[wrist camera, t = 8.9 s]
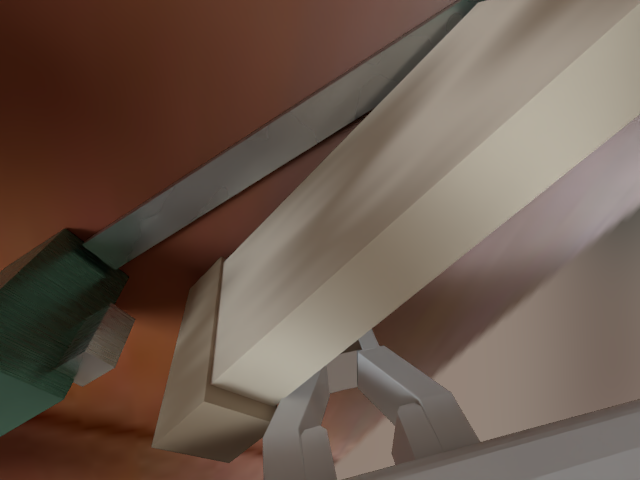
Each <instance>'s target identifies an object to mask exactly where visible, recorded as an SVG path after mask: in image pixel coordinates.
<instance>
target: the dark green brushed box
mask: <svg viewBox="0 0 640 480" xmlns="http://www.w3.org/2000/svg"><path fill="white" fill-rule="evenodd" d="M83 243H84V242H83V241H81V240H80V239H79V238H78V237H76V236H75V235H74V234H72V233H71V232H70V231H68V230H67V229H66V228H65V229H63V230H62V231H60V232H59V233H57V234H56V235H54V236H53V237H51V238H50V239H48V240H46V241H45V242H43V243H42V244H40V245H39V246H37V247H36V248H34V249H33V250H31V251H30V252H28V253H27V254H25V255H24V256H22V257H21V258H19V259H17V260H16V261H14V262H13V263H11V264H10V265H8V266H7V267H5V268H4V269H3V270H2V271H1V272H0V437H1V436H2V435H4V434H6V433H7V432H9V431H11V430H12V429H14V428H16V427H18V426H19V425H21V424H23V423H24V422H26V421H28V420H29V419H31V418H33V417H35V416H36V415H38V414H40V413H41V412H43V411H45V410H46V409H48V408H50V407H52V406H53V405H55V404H57V403H58V402H60V401H62V400H63V399H64V398H65V396H66V394H67V392H68V390H69V389H70V387H71V385H72V383H73V382H74V383H76V384H78V385H80V386H82V387H83V386H84V385H86V384H88V383H90V382H91V381H93V380H95V379H96V378H98V377H100V376H101V375H103V374H105V373H106V372H108V371H110V370H112V369H113V368H115V366H116V364H117V361H118V359H119V357H120V354H121V352H122V350H123V347H124V345H125V342H126V340H127V338H128V335H129V333H130V331H131V328H132V326H133V324H134V321H135V319H134V318H133V317H131V316H130V315H128V314H127V313H125V312H124V311H122V310H121V309H120V308H118V307H117V306H115V305H114V304H115V302H116V301H117V299H118V297H119V295H120V293H121V291H122V289H123V288H124V286H125V284H126V282H127V280H128V278H129V277H128V276H127V275H126V274H124V273H123V272H122V271H121V270H119V269H116V270H114V269H113V268H112V267H110V266H109V265H108V264H106V263H105V262H104V261H102V260H101V259H100V258H99V257H97V256H96V255H95V254H93V253H92V252H91V251H89V250H88V249H87V248H85V247H84V246H83Z"/></svg>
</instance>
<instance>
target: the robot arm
mask: <svg viewBox="0 0 640 480" xmlns="http://www.w3.org/2000/svg"><path fill="white" fill-rule="evenodd" d="M355 387H358V389H359V390H360V391H361V392H362V393H363V394H364V395H365V396H366V397H367V398H368V399H369V400H370V401H371V402H372V403H373V404H374V405H375V406H376V407H377V408H378V409H379V410H380V411H381V412H382V413H383V414H384V415H385V416H386V417H387V418H388V419H389V420H390V421H391V422H392V423H393V424H394V425H395V433H394V440H393V448H392V456H393V459H394V462H395V465H394V466H390V467H387V468H383V469H380V470H376V471H372V472H368V473H365V474H361V475H358V476H354V477H350V478H346V479H343V480H640V399H638V400H634V401H631V402H627V403H623V404H619V405H616V406H612V407H608V408H605V409H601V410H597V411H594V412H590V413H587V414H583V415H579V416H575V417H571V418H568V419H564V420H560V421H557V422H553V423H549V424H546V425H542V426H538V427H535V428H531V429H527V430H523V431H520V432H516V433H512V434H509V435H505V436H501V437H498V438H494V439H490V440H486V441H483V442H480V441H479V439H478V437H477V436H476V434H475V432H474V431H473V429H472V427H471V426H470V424H469V422H468V420H467V419H466V417H465V415H464V414H463V412H462V410H461V409H460V407H459V405H458V403H457V402H456V400H455V398H454V396H453V395H452V393H451V392H450V391H448V390H447V389H445V388H444V387H443V386H441V385H440V384H438V383H437V382H436V381H434V380H433V379H431V378H430V377H428V376H427V375H426V374H424V373H423V372H421V371H420V370H418V369H417V368H416V367H414V366H413V365H411V364H410V363H408V362H407V361H406V360H404V359H403V358H401V357H400V356H398V355H397V354H396V353H394V352H393V351H391V350H390V349H388V348H387V347H386V346H384V345H383V346H379V344H378V341H377V339H376V337H375V335H374V332H373V330H372V329H371V330H369V331H368V332H367V333H366V334H364V335H363V336H362V337H361V338H359V339H358V340H357V341H356V342H354V343H353V344H352V345H351V346H349V347H348V348H347V349H346V350H344V351H343V352H342V353H341V354H339V355H338V356H337V357H336V358H334V359H333V360H332V361H331V362H329V363H328V364H327V365H326V366H324V367H323V368H322V369H321V370H319V371H318V372H317V373H316V374H314V375H313V376H312V377H311V378H309V379H308V380H307V381H306V382H304V383H303V384H302V385H301V386H299V387H298V388H297V389H296V390H294V391H293V392H292V393H291V394H289V395H288V396H287V397H285V398H282V399H281V401H280V403H279V405H278V407H277V409H276V411H275V413H274V415H273V417H272V420H271V422H270V424H269V426H268V428H267V430H266V432H265V434H264V436H263V472H264V480H337V477H336V472H335V467H334V463H333V458H332V453H331V448H330V443H329V439H328V434H327V429H325V428H323V427H322V426H321V423H322V419H323V416H324V413H325V409H326V406H327V403H328V399H329V396H330V394H329V393H333V392H337V391H341V390H345V389H350V388H355Z"/></svg>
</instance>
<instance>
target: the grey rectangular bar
mask: <svg viewBox="0 0 640 480" xmlns="http://www.w3.org/2000/svg"><path fill="white" fill-rule="evenodd" d="M638 115H640V0H486V1H482V2H478V3H477V4H476V5H475V6H474V7H473V8H472V9H471V10H470V12H469V13H468V14H467V15H466V16H465V17H464V18H463V19H462V20H461V21H460V22H459V23H458V24H457V25H456V26H455V27H454V28H453V29H452V30H451V31H450V32H449V33H448V34H447V35H446V36H445V37H444V38H443V39H442V40H441V41H440V42H439V43H438V44H437V45H436V46H435V47H434V48H433V49H432V50H431V51H430V52H429V53H428V54H427V55H426V56H425V57H424V58H423V59H422V61H421V62H420V63H419V64H418V65H417V66H416V67H415V68H414V69H413V70H412V71H411V72H410V73H409V74H408V75H407V76H406V77H405V78H404V79H403V80H402V81H401V82H400V83H399V84H398V85H397V86H396V87H395V88H394V89H393V90H392V91H391V92H390V93H389V94H388V95H387V96H386V97H385V98H384V99H383V100H382V101H381V102H380V103H379V104H378V105H377V106H376V107H375V108H374V109H373V111H372V112H371V113H370V114H369V115H368V116H367V117H366V118H365V119H364V120H363V121H362V122H361V123H360V124H359V125H358V126H357V127H356V128H355V129H354V130H353V131H352V132H351V133H350V134H349V135H348V136H347V137H346V138H345V139H344V140H343V141H342V142H341V143H340V144H339V145H338V146H337V147H336V148H335V149H334V150H333V151H332V152H331V153H330V154H329V155H328V156H327V157H326V158H325V159H324V161H323V162H322V163H321V164H320V165H319V166H318V167H317V168H316V169H315V170H314V171H313V172H312V173H311V174H310V175H309V176H308V177H307V178H306V179H305V180H304V181H303V182H302V183H301V184H300V185H299V186H298V187H297V188H296V189H295V190H294V191H293V192H292V193H291V194H290V195H289V196H288V197H287V198H286V199H285V200H284V201H283V202H282V203H281V204H280V205H279V206H278V207H277V208H276V209H275V211H274V212H273V213H272V214H271V215H270V216H269V217H268V218H267V219H266V220H265V221H264V222H263V223H262V224H261V225H260V226H259V227H258V228H257V229H256V230H255V231H254V232H253V233H252V234H251V235H250V236H249V237H248V238H247V239H246V240H245V241H244V242H243V243H242V244H241V245H240V246H239V247H238V248H237V249H236V250H235V251H234V252H233V253H232V254H231V255H230V256H229V257H228V258H227V259H225V258H223V257H222V256H221V257H220V258H219V259H218V260H217V261H216V262H215V263H214V264H213V266H212V267H211V268H210V269H209V270H208V271H207V272H206V273H205V274H204V275H203V276H202V277H201V278H200V279H199V280H198V281H197V282H196V283H195V284H194V285H193V286H192V287H191V288H190V290H189V294H188V298H187V302H186V306H185V310H184V314H183V319H182V323H181V327H180V331H179V335H178V339H177V343H176V347H175V352H174V356H173V360H172V364H171V368H170V372H169V376H168V381H167V385H166V389H165V393H164V397H163V401H162V405H161V409H160V414H159V418H158V422H157V426H156V430H155V434H154V438H153V443H152V448H157V449H162V450H167V451H172V452H177V453H182V454H187V455H192V456H196V457H201V458H206V459H211V460H216V461H221V462H226V463H230V462H231V461H232V460H234V459H235V458H236V457H238V456H239V455H240V454H241V453H243V452H244V451H245V450H247V449H248V448H249V447H250V446H252V445H253V444H254V443H256V442H257V441H258V440H259V439H261V438H262V437H263V436H264V434H265V432H266V430H267V428H268V426H269V424H270V422H271V420H272V417H273V415H274V413H275V411H276V409H277V404H278V403H279V402H280V401H281V399H282V398H285V397H287V396H288V395H289V394H291V393H292V392H293V391H294V390H296V389H297V388H298V387H299V386H301V385H302V384H303V383H304V382H306V381H307V380H308V379H309V378H311V377H312V376H313V375H314V374H316V373H317V372H318V371H319V370H321V369H322V368H323V367H324V366H326V365H327V364H328V363H329V362H331V361H332V360H333V359H334V358H336V357H337V356H338V355H339V354H341V353H342V352H343V351H344V350H346V349H347V348H348V347H349V346H351V345H352V344H353V343H354V342H356V341H357V340H358V339H359V338H361V337H362V336H363V335H364V334H366V333H367V332H368V331H369V330H371V329H372V328H373V327H374V326H376V325H377V324H378V323H379V322H381V321H382V320H383V319H384V318H386V317H387V316H388V315H389V314H391V313H392V312H393V311H394V310H396V309H397V308H398V307H399V306H401V305H402V304H403V303H404V302H406V301H407V300H408V299H409V298H411V297H412V296H413V295H414V294H416V293H417V292H418V291H419V290H421V289H422V288H423V287H424V286H426V285H427V284H428V283H429V282H431V281H432V280H433V279H434V278H436V277H437V276H438V275H439V274H441V273H442V272H443V271H444V270H446V269H447V268H448V267H449V266H451V265H452V264H453V263H454V262H456V261H457V260H458V259H459V258H461V257H462V256H463V255H464V254H466V253H467V252H468V251H469V250H471V249H472V248H473V247H474V246H476V245H477V244H478V243H479V242H481V241H482V240H483V239H484V238H486V237H487V236H488V235H489V234H491V233H492V232H493V231H494V230H496V229H497V228H498V227H499V226H501V225H502V224H503V223H504V222H506V221H507V220H508V219H509V218H511V217H512V216H513V215H515V214H516V213H517V212H518V211H520V210H521V209H522V208H523V207H525V206H526V205H527V204H528V203H530V202H531V201H532V200H533V199H535V198H536V197H537V196H538V195H540V194H541V193H542V192H543V191H545V190H546V189H547V188H548V187H550V186H551V185H552V184H553V183H555V182H556V181H557V180H558V179H560V178H561V177H562V176H563V175H565V174H566V173H567V172H568V171H570V170H571V169H572V168H573V167H575V166H576V165H577V164H578V163H580V162H581V161H582V160H583V159H585V158H586V157H587V156H588V155H590V154H591V153H592V152H593V151H595V150H596V149H597V148H598V147H600V146H601V145H602V144H603V143H605V142H606V141H607V140H608V139H610V138H611V137H612V136H613V135H615V134H616V133H617V132H618V131H620V130H621V129H622V128H623V127H625V126H626V125H627V124H628V123H630V122H631V121H632V120H633V119H635V118H636V117H637V116H638Z"/></svg>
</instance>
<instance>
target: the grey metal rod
mask: <svg viewBox="0 0 640 480" xmlns="http://www.w3.org/2000/svg"><path fill="white" fill-rule="evenodd" d="M482 1H486V0H457V1H455V2H454V3H452V4H451V5H449V6H447V7H446V8H444V9H443V10H441V11H440V12H438V13H437V14H435V15H433V16H432V17H430V18H429V19H427V20H426V21H424V22H423V23H421V24H420V25H418V26H416V27H415V28H413V29H412V30H410V31H409V32H407V33H406V34H404V35H402V36H401V37H399V38H398V39H396V40H395V41H393V42H392V43H390V44H389V45H387V46H385V47H384V48H382V49H381V50H379V51H378V52H376V53H375V54H373V55H371V56H370V57H368V58H367V59H365V60H364V61H362V62H361V63H359V64H358V65H356V66H354V67H353V68H351V69H350V70H348V71H347V72H345V73H344V74H342V75H340V76H339V77H337V78H336V79H334V80H333V81H331V82H330V83H328V84H327V85H325V86H323V87H322V88H320V89H319V90H317V91H316V92H314V93H313V94H311V95H309V96H308V97H306V98H305V99H303V100H302V101H300V102H299V103H297V104H296V105H294V106H292V107H291V108H289V109H288V110H286V111H285V112H283V113H282V114H280V115H278V116H277V117H275V118H274V119H272V120H271V121H269V122H268V123H266V124H265V125H263V126H261V127H260V128H258V129H257V130H255V131H254V132H252V133H251V134H249V135H247V136H246V137H244V138H243V139H241V140H240V141H238V142H237V143H235V144H234V145H232V146H230V147H229V148H227V149H226V150H224V151H223V152H221V153H220V154H218V155H216V156H215V157H213V158H212V159H210V160H209V161H207V162H206V163H204V164H203V165H201V166H199V167H198V168H196V169H195V170H193V171H192V172H190V173H189V174H187V175H185V176H184V177H182V178H181V179H179V180H178V181H176V182H175V183H173V184H172V185H170V186H168V187H167V188H165V189H164V190H162V191H161V192H159V193H158V194H156V195H154V196H153V197H151V198H150V199H148V200H147V201H145V202H144V203H142V204H140V205H139V206H137V207H136V208H134V209H133V210H131V211H130V212H128V213H127V214H125V215H123V216H122V217H120V218H119V219H117V220H116V221H114V222H113V223H111V224H109V225H108V226H106V227H105V228H103V229H102V230H100V231H99V232H97V233H96V234H94V235H92V236H91V237H89V238H88V239H87V240H86V241H85V242H84V243H83V246H84V247H85V248H87V249H88V250H89V251H91V252H92V253H93V254H95V255H96V256H97V257H99V258H100V259H101V260H102V261H104V262H105V263H106V264H108V265H109V266H110V267H112V268H113V269H114V270H116V269H118V268H119V267H121V266H122V265H124V264H125V263H127V262H129V261H130V260H132V259H133V258H135V257H137V256H138V255H140V254H141V253H143V252H145V251H146V250H148V249H149V248H151V247H153V246H154V245H156V244H157V243H159V242H161V241H162V240H164V239H165V238H167V237H169V236H170V235H172V234H173V233H175V232H177V231H178V230H180V229H181V228H183V227H185V226H186V225H188V224H189V223H191V222H193V221H194V220H196V219H197V218H199V217H201V216H202V215H204V214H205V213H207V212H209V211H210V210H212V209H213V208H215V207H217V206H218V205H220V204H221V203H223V202H225V201H226V200H228V199H229V198H231V197H233V196H234V195H236V194H237V193H239V192H240V191H242V190H244V189H245V188H247V187H248V186H250V185H252V184H253V183H255V182H256V181H258V180H260V179H261V178H263V177H264V176H266V175H268V174H269V173H271V172H272V171H274V170H276V169H277V168H279V167H280V166H282V165H284V164H285V163H287V162H288V161H290V160H292V159H293V158H295V157H296V156H298V155H300V154H301V153H303V152H304V151H306V150H308V149H309V148H311V147H312V146H314V145H316V144H317V143H319V142H320V141H322V140H324V139H325V138H327V137H328V136H330V135H332V134H333V133H335V132H336V131H338V130H340V129H341V128H343V127H344V126H346V125H348V124H349V123H351V122H352V121H354V120H356V119H357V118H359V117H360V116H362V115H363V114H365V113H367V112H368V111H370V110H371V109H373V108H375V107H376V106H377V105H378V104H379V103H380V102H381V101H382V100H383V99H384V98H385V97H386V96H387V95H388V94H389V93H390V92H391V91H392V90H393V89H394V88H395V87H396V86H397V85H398V84H399V83H400V82H401V81H402V80H403V79H404V78H405V77H406V76H407V75H408V74H409V73H410V72H411V71H412V70H413V69H414V68H415V67H416V66H417V65H418V64H419V63H420V62H421V61H422V59H423V58H424V57H425V56H426V55H427V54H428V53H429V52H430V51H431V50H432V49H433V48H434V47H435V46H436V45H437V44H438V43H439V42H440V41H441V40H442V39H443V38H444V37H445V36H446V35H447V34H448V33H449V32H450V31H451V30H452V29H453V28H454V27H455V26H456V25H457V24H458V23H459V22H460V21H461V20H462V19H463V18H464V17H465V16H466V15H467V14H468V13H469V12H470V10H471V9H472V8H473V7H474V6H475V5H476V4H477V3H478V2H482Z"/></svg>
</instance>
